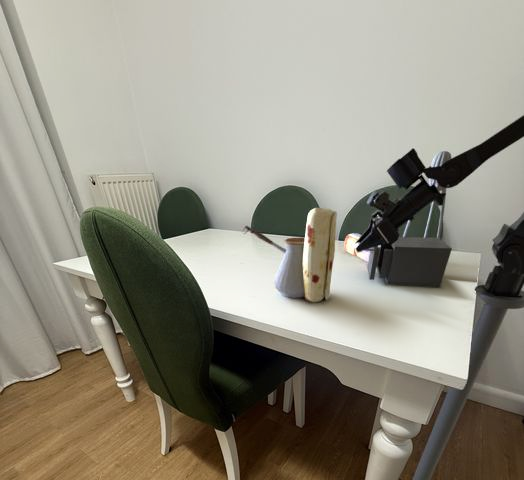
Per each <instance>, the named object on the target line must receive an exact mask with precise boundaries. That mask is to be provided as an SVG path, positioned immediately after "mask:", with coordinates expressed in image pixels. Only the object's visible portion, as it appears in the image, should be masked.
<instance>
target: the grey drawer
mask: <svg viewBox="0 0 524 480" xmlns="http://www.w3.org/2000/svg"><path fill="white" fill-rule="evenodd" d="M387 243H388V244H384V245H381V247H380V252H379V247H378V246H376V247H373V248H369V249H366V250H362V251H370V254H369V260H368V262H367V267H366V268H367V274H368V279H369V280H370V281H371V280H372V281H374V280H375V277H376V272H377V273H378V276H379V279H385V278H388V276H389V271H390V266H391V261H392V256H393V252H394V249H393V247H392V245H390V243H389V242H388V241H387ZM359 244H360V242H358V243H356V247H357V246H358V245H359ZM362 251H359V252H358V251H357V250H356V252H357V253H360V252H362ZM378 256H379V258H378ZM377 261H378V263H377Z"/></svg>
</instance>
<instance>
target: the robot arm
mask: <svg viewBox="0 0 524 480" xmlns="http://www.w3.org/2000/svg"><path fill="white" fill-rule="evenodd" d="M522 138H524V114H522V115H521V116H520V117H519V118H516V120H514V121H512V122H510V124H508V125H507V126H505V127H503V128H502V129H500V130H499V131H497V132H496V133H494V134H493V135H491V136H490V137H488V138H487V139H485V140H484V141H482V142H480V143H479V144H478V145H476V146H473V147H472V148H469V149H467V150H466V151H463V152H462V153H459V154H457V155H456V156H453V157H451V159H449V160H447V161H446V162H444V163H443V164H442V165H441V166H437V167H431V165H430V166H428V167H426V166H425V164H424V162H423V161H422V159H421V158H420V157H419V155H418V152H417V150H416V149H415V148H411V149H410V150H408V152H407V153H405V154H404V155H403V156H401V157H400V158H398V159H397V160H395V161H394V162H393V163H392V164H391V165H390V166H389V168H388V169H387V170H386V173H387V174H388V175H389V176H390V178H391V180H392V181H393V182H394V184H395V185H396V187H397V188H398V189H399V190H401V189H402V188H403V189H405V191H407V190H408V189H409V188H410V187H412V186H413V185H414V184H415V183H416V182H418V181H419V180H420V182H418V183H417V184H416V185H415V186H413V187H412V188H410V190H408V191H407V192H406V193H405V194H403V195H402V196H401V197H396V198H395V199H393V200H391V199H390V194H389V193H387V192H386V191H385V190H383V191H381V192H378V191H376V190H373V191H372V193H371V194H370V196H369V198H368V199H367V201H366V204H367V205H369V206H370V207H374V208H375V209H376V210H375V211H374V212H372V213H371V217H369V222H368V223H369V224H368V227H367V228H366V230H365V231H364V232H363V233H362V234H360V235H361V237H360V238H359V239H358V240H357V241H356V243H358V242H360V244H359V245H358V246H357V247H356V250H357V251H358V252H359V251H362V250H366V249H369V248H373V247H376V246H380V245H384V244H388V243H387V242H389V243H390V245H392V244H393V243H394V242H396V241H397V240H398V238H399V237H400V233H399V228H401V227H403V225H405V224H407V223H408V221H411V222H412V221H413V220H415V216H417V215H418V214H419V213H420V212H422V211H423V210H425V209H426V208H427V207H429V206H430V204H431V203H432V202H434V201H435V203H434V204H436V206H437V207H441V205H443V201H444V197H445V196H447V192H446V193H442V192H441V191H439V190H438V189H437V187H436V186H435V184H432V185H431V186H430V185H429V182H428V181H427V179H428V180H429V179H433V180H437V183H438V184H439V185H440V186H441V187H443V188H446V189H451V188H454V187H456V186H458V185H459V184H460V183H462V182H463V181H464V180H465V179H467V178H468V177H470V175H472V174H473V173H475V171H476V170H477V169H479V168H480V167H481V166H482V165H483V164H484V163H486V162H487V161H488V160H489V159H491V158H493V157H495V156H496V155H498V154H499V153H501V152H502V151H503V150H505V149H507V148H508V147H510V146H511V145H513V144H515V143H516V142H518V141H520V140H521V139H522ZM423 174H424V175H423ZM424 176H425V177H426V178H427V179H426V178H425V177H424ZM431 205H432V204H431ZM492 242H493V244H492V246H491V251H492V254H493V256H494V257H495V258H496V260H497V264H499V265H494V267H493V268H492V271H490V272H489V273H488V276H487V278H486V280H485V283H484V285H485V286H483V288H484V289H485V290H486V291H487V292H488V293H489V294H491V295H492V296H503V297H520V298H522V297H523V295H522V294H520V291H521V290H522V289H523V287H524V211H523V212H522V214H521V215H520V217H518V218H517V219H516V220H515V221H514V222H513V223H512V224H510V225H509V224H507V223H503V225H502V226H501V229H500V230H499V232H498V234H497V235H496V236H495V237H494V238H492ZM356 243H355V244H356Z"/></svg>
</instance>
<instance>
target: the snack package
mask: <svg viewBox="0 0 524 480" xmlns="http://www.w3.org/2000/svg"><path fill="white" fill-rule="evenodd" d="M361 235H362V234H361V233H358V232H357V233H356V232H352V233H349V234H347V235H346V237H345V239H344V244H343V250H344V252H346V253H348V254H350V255H352V256H354V257H357V258H358V259H360V260H362V261H364V262H366V263H368V260H369V254H370V251H362V252H360V253H357V252H356V244H355V243H356V241H357V240H358V239H359V238H360V237H361ZM378 247H379V252H380V247H381V245H380V246H378ZM378 258H379V256H378ZM377 263H378V261H377Z"/></svg>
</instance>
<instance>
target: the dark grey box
mask: <svg viewBox="0 0 524 480" xmlns="http://www.w3.org/2000/svg"><path fill="white" fill-rule="evenodd" d="M392 247H393V249H394V252H393V256H392V261H391V266H390V271H389V276H388V278H384V279H385V282H386V285H387V286H403V287H404V286H406V287H420V288H421V287H423V288H438V289H439V288H441V285H442V282H443V279H444V275H445V273H446V269H447V266H448V263H449V259H450V256H451V254H452V253H451V252H452V250H453V248H452V247H451V246H450V245H449V244H447V243H446V242H445V241H443V240H442V239H441V238H440V239H439V238H437V237H427V238H424V237H419V236H418V237H416V236H415V237H414V236H413V237H411V236H406V237H403V236H399V238H398V240H397V241H396V242H394V243H393V244H392Z"/></svg>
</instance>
